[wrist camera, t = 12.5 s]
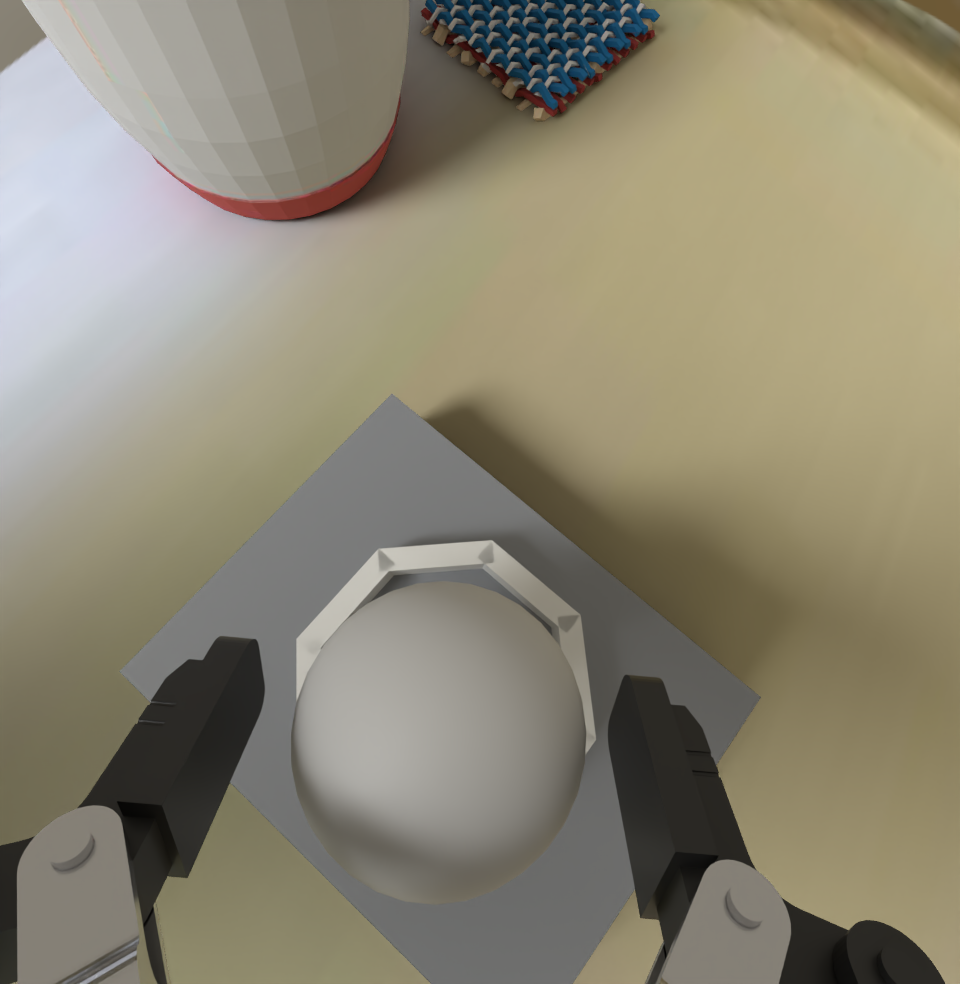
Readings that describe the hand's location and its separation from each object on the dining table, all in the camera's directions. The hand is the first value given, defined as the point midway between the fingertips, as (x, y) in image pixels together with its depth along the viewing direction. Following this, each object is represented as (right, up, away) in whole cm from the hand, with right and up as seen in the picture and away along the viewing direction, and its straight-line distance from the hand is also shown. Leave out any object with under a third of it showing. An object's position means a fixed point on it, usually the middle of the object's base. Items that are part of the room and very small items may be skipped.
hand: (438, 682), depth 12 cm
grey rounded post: (0, -3, +7) cm, 8 cm away
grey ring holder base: (0, -4, +11) cm, 12 cm away
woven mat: (+4, +32, +21) cm, 38 cm away
